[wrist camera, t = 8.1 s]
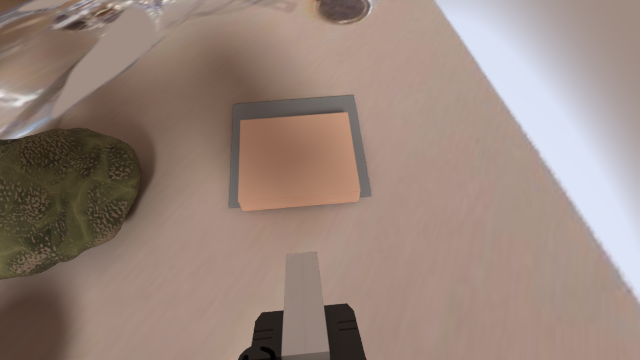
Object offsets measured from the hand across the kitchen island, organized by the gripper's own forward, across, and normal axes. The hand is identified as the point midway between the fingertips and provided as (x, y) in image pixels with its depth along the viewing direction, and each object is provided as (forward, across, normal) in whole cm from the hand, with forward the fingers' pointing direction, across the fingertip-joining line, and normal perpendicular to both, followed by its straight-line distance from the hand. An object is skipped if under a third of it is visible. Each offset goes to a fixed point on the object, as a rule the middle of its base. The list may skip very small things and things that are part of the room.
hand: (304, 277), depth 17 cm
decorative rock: (+21, -24, -3) cm, 32 cm away
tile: (+18, 0, -2) cm, 18 cm away
